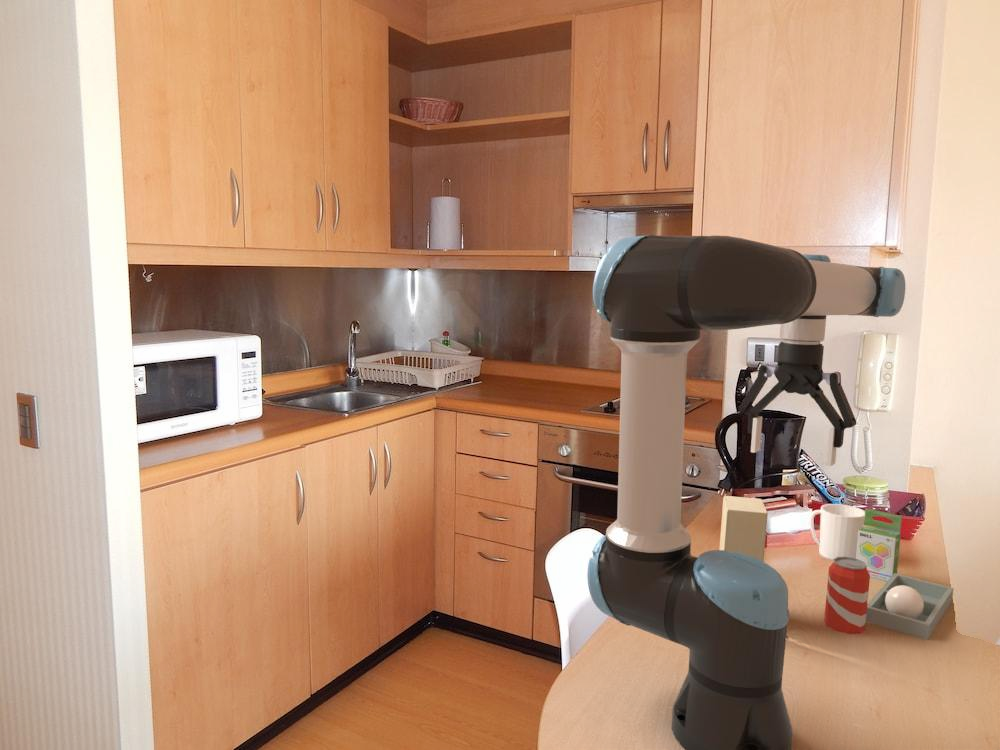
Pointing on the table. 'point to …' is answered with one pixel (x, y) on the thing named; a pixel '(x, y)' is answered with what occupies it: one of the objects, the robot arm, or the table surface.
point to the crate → (922, 627)
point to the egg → (904, 601)
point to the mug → (838, 530)
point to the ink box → (879, 544)
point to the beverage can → (847, 595)
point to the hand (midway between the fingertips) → (791, 457)
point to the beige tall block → (743, 526)
